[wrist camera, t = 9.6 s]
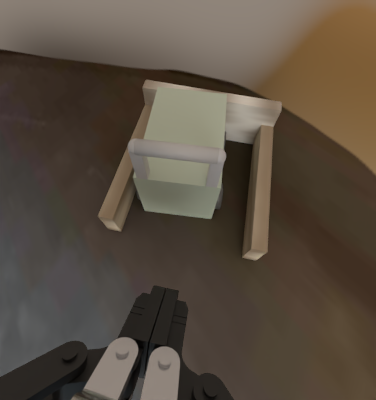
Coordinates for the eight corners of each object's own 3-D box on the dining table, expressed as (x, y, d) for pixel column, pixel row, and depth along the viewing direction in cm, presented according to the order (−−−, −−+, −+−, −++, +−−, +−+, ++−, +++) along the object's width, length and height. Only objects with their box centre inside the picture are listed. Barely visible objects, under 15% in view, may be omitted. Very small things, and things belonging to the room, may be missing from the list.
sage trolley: (138, 211, 22) (110, 145, 13) (157, 132, 26) (146, 45, 18) (217, 221, 21) (241, 160, 13) (222, 140, 26) (243, 55, 17)
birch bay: (108, 228, 20) (88, 205, 16) (151, 118, 27) (146, 79, 22) (255, 260, 20) (277, 244, 15) (264, 138, 26) (281, 102, 21)
